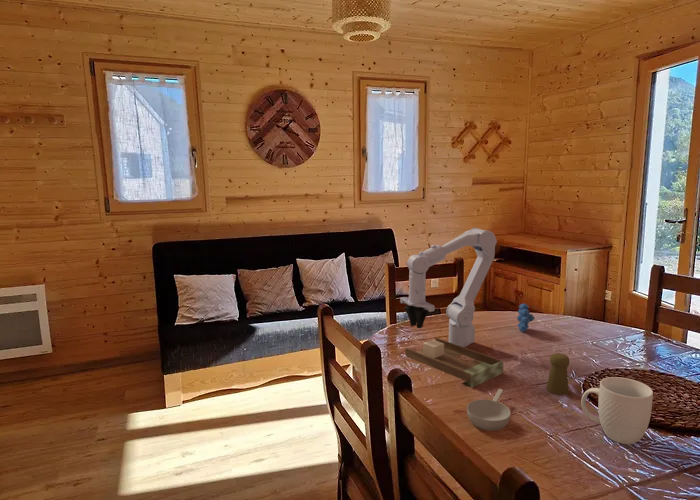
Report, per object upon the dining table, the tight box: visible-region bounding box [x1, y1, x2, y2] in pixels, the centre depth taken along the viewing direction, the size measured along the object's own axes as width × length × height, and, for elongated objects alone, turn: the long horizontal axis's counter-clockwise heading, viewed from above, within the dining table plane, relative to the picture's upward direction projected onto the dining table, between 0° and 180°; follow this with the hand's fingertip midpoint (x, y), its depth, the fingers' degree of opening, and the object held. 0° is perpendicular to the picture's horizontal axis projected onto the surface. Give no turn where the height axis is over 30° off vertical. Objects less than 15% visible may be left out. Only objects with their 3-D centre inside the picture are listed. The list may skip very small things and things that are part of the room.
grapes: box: [516, 303, 536, 333], centre depth 186 cm, size 12×7×12 cm, turn 169°
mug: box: [580, 376, 654, 445], centre depth 114 cm, size 15×11×13 cm
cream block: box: [422, 339, 444, 358], centre depth 161 cm, size 5×5×4 cm
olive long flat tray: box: [405, 337, 504, 389], centre depth 155 cm, size 16×28×4 cm, turn 39°
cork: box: [546, 352, 570, 396], centre depth 137 cm, size 6×6×11 cm
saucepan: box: [466, 388, 511, 432], centre depth 124 cm, size 11×18×4 cm, turn 148°
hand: (416, 326), depth 166 cm, fingers open, 2 cm apart
